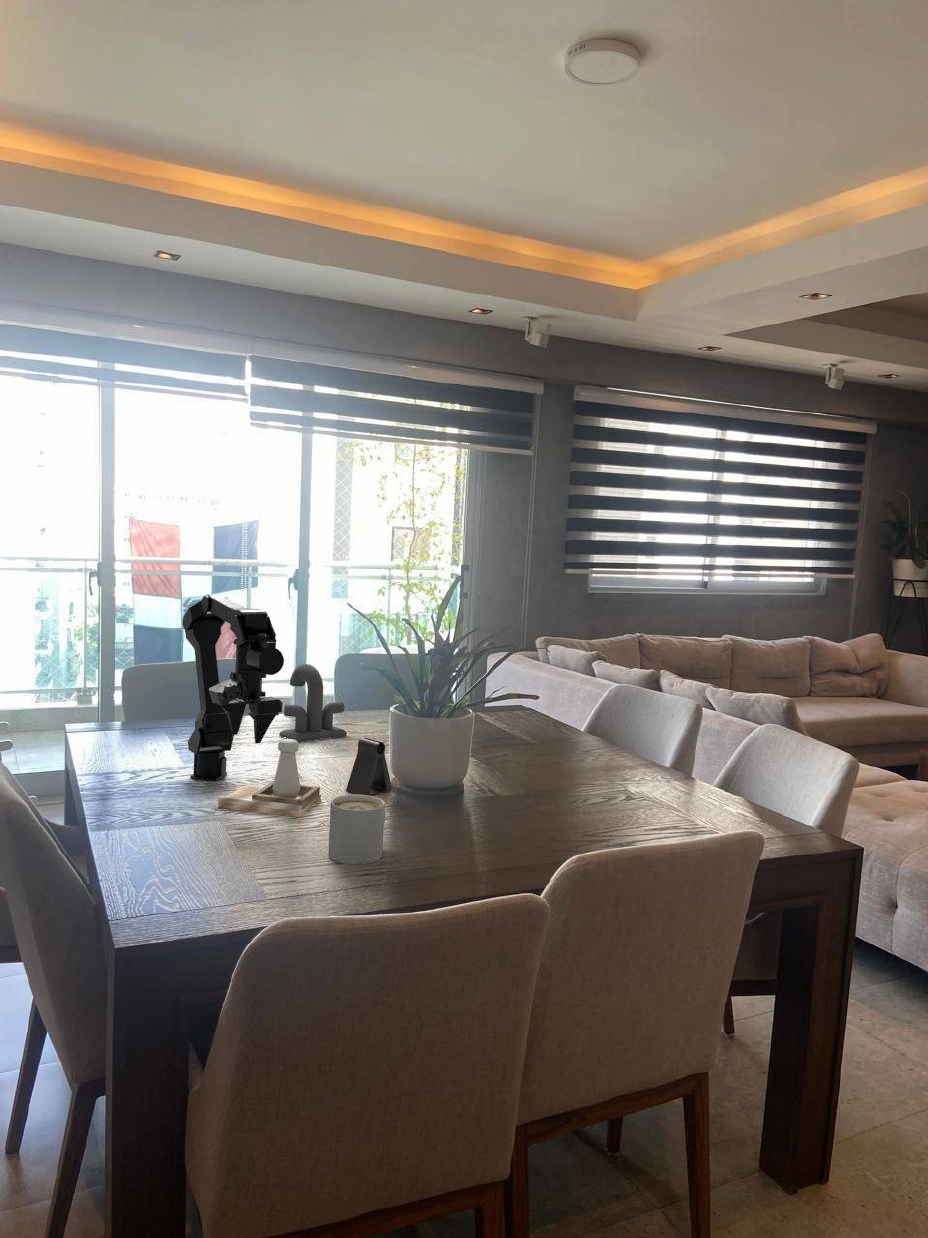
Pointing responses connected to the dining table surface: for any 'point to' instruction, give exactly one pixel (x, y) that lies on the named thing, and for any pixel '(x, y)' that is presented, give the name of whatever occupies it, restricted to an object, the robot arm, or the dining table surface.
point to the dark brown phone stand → (369, 770)
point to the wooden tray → (271, 800)
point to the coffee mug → (356, 829)
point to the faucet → (312, 709)
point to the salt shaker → (287, 770)
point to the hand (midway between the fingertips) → (246, 738)
